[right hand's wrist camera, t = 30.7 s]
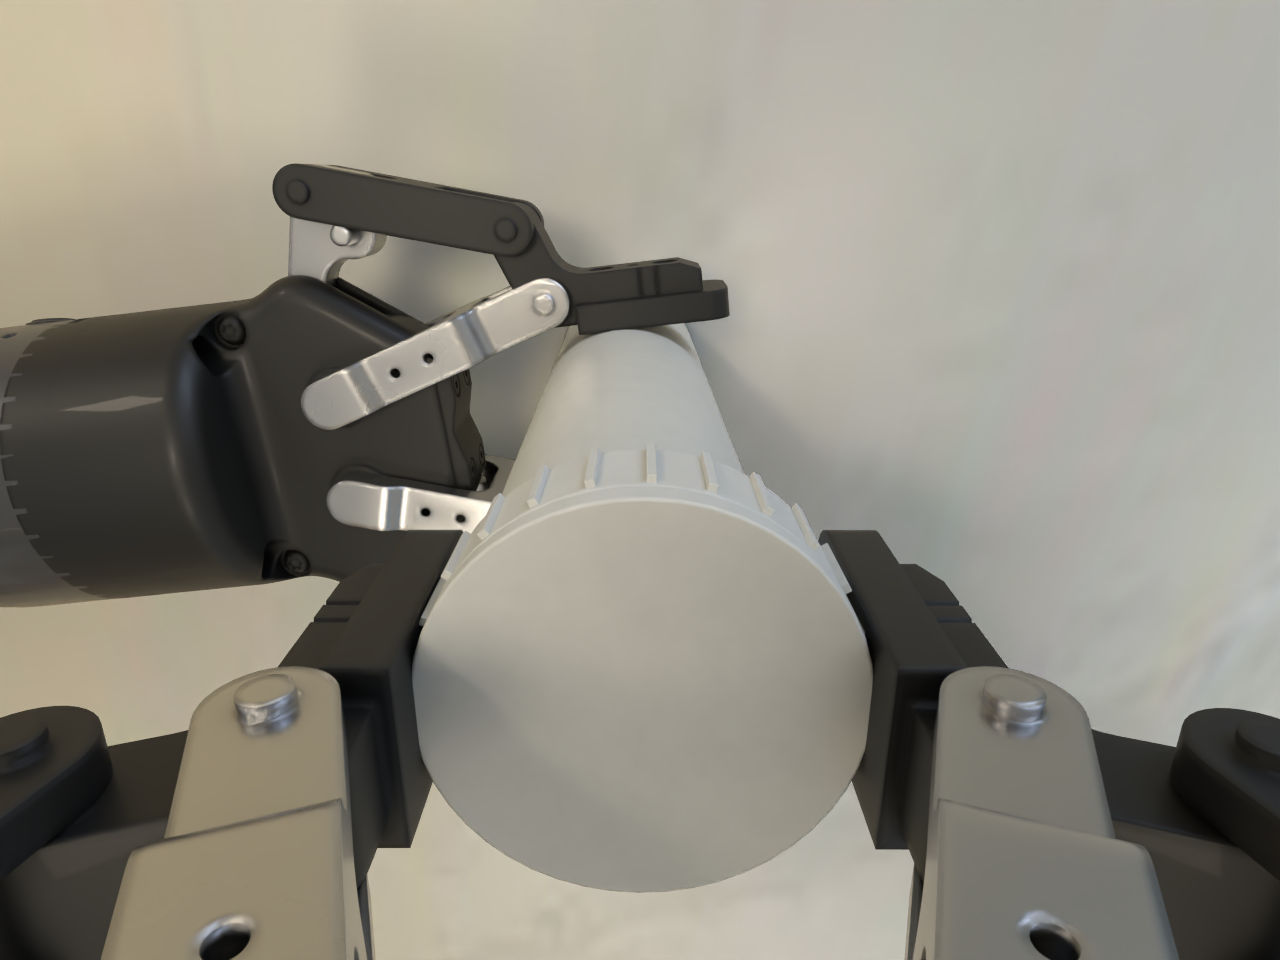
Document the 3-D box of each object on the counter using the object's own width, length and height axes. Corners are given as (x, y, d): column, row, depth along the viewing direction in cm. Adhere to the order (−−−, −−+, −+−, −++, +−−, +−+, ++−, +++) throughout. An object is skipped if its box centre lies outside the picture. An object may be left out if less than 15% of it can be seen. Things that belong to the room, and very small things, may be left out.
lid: (562, 357, 9) (546, 393, 8) (931, 573, 10) (983, 643, 9) (369, 696, 11) (324, 780, 9) (705, 857, 12) (715, 959, 10)
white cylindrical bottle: (685, 426, 28) (774, 818, 11) (558, 414, 28) (444, 795, 11) (701, 298, 27) (833, 517, 9) (567, 284, 27) (451, 483, 9)
